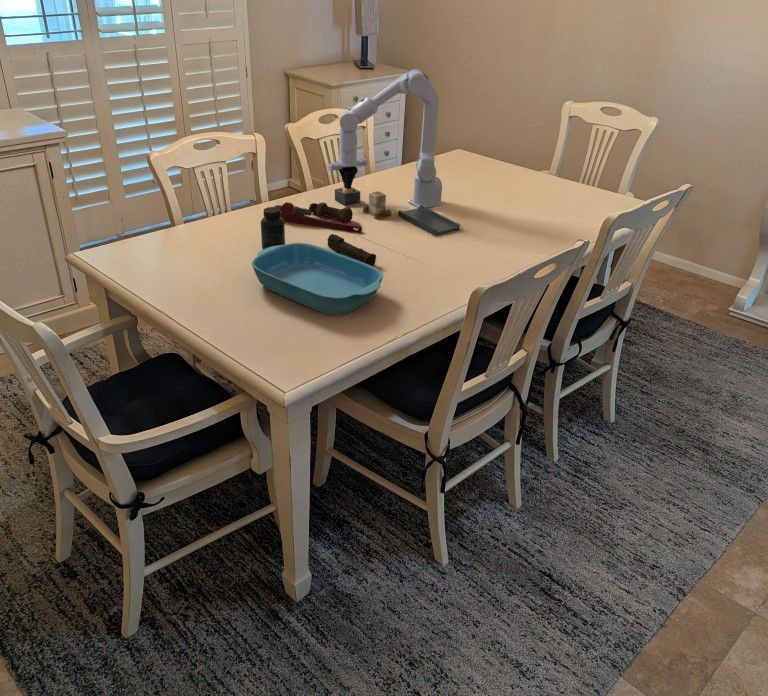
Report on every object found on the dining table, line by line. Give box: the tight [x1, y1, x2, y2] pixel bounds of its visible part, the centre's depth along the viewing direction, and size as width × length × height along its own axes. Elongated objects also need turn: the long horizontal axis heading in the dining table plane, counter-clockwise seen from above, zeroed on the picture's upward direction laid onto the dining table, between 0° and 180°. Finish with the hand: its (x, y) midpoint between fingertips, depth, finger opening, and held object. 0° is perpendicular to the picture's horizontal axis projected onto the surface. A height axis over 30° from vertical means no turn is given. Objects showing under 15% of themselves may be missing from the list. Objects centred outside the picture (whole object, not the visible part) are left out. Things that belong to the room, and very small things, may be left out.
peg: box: [368, 190, 387, 217], centre depth 228 cm, size 4×4×7 cm
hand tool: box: [327, 233, 377, 267], centre depth 199 cm, size 19×4×5 cm, turn 42°
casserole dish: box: [251, 242, 384, 316], centre depth 179 cm, size 37×22×7 cm, turn 54°
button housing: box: [334, 186, 361, 207], centre depth 238 cm, size 6×6×4 cm
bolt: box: [308, 201, 353, 224], centre depth 224 cm, size 6×5×15 cm
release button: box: [341, 186, 354, 193], centre depth 238 cm, size 4×4×4 cm
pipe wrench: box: [274, 201, 363, 234], centre depth 217 cm, size 7×2×30 cm
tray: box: [397, 205, 461, 237], centre depth 224 cm, size 10×20×2 cm, turn 36°
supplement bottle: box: [260, 206, 286, 250], centre depth 199 cm, size 7×7×12 cm
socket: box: [362, 204, 392, 220], centre depth 229 cm, size 6×8×2 cm
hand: (347, 188), depth 237 cm, fingers closed, pressing on release button
